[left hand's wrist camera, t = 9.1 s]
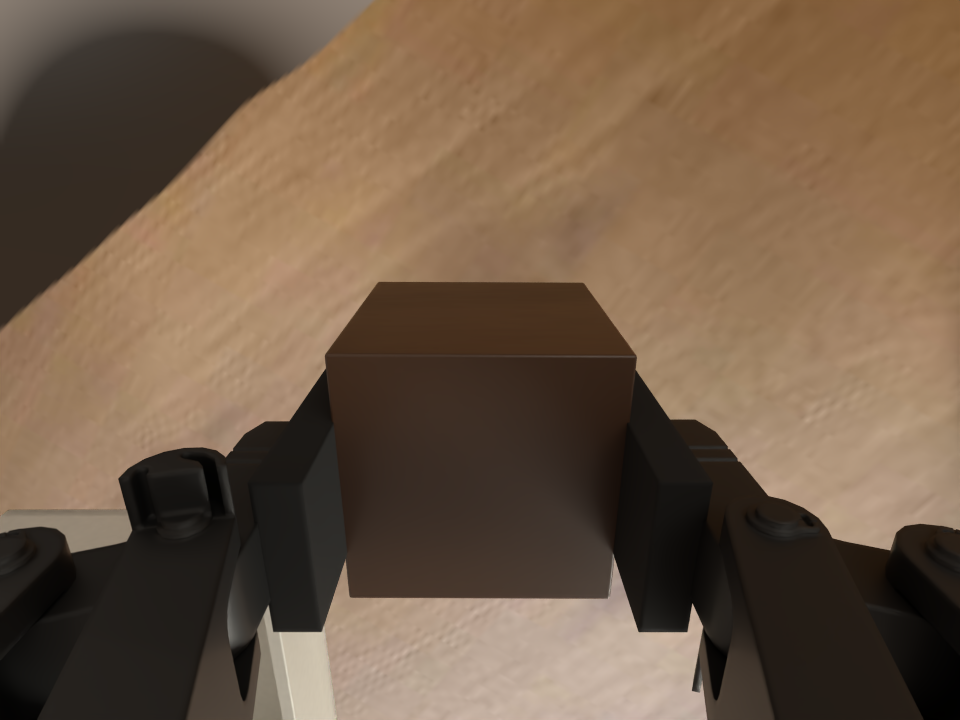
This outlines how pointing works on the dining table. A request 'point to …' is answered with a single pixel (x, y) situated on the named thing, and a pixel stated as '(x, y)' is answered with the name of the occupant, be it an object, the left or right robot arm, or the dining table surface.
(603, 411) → the walnut cube
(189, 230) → the dining table surface
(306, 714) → the box
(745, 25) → the dining table surface
